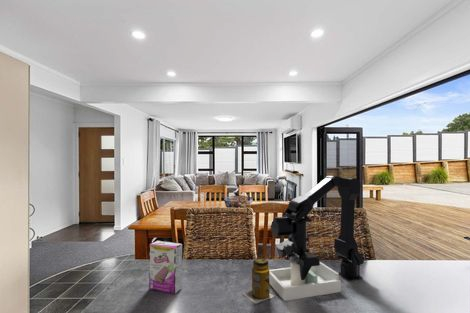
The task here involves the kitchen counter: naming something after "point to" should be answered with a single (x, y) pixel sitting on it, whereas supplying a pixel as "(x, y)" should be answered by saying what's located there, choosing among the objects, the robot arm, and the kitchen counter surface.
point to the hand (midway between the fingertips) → (298, 276)
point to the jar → (295, 271)
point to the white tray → (287, 291)
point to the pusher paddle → (311, 277)
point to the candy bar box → (165, 267)
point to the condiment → (259, 281)
